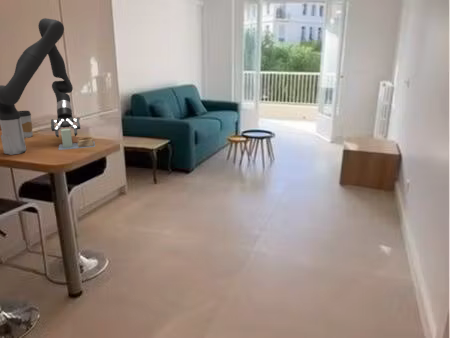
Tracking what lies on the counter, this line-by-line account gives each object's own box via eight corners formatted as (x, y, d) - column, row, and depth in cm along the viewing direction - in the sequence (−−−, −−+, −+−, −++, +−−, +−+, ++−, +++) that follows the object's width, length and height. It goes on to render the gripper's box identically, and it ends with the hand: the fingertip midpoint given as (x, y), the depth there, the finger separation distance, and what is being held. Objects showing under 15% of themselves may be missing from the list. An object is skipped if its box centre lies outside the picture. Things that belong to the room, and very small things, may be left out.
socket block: (78, 147, 194) (77, 141, 193) (78, 143, 201) (77, 138, 200) (93, 145, 197) (93, 139, 196) (93, 142, 204) (92, 136, 203)
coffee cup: (29, 134, 227) (25, 110, 222) (37, 136, 223) (33, 111, 218) (16, 137, 220) (11, 112, 215) (24, 138, 216) (19, 113, 211)
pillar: (63, 147, 193) (60, 130, 191) (63, 145, 197) (61, 129, 195) (72, 146, 195) (70, 130, 192) (72, 144, 199) (70, 128, 196)
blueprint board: (58, 151, 190) (58, 149, 189) (59, 145, 200) (59, 144, 200) (95, 148, 195) (95, 146, 195) (94, 142, 206) (94, 141, 206)
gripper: (49, 107, 196) (50, 133, 189) (77, 105, 200) (80, 130, 194) (51, 115, 202) (53, 141, 196) (79, 114, 207) (81, 138, 200)
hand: (66, 135), depth 195 cm, fingers open, 8 cm apart
